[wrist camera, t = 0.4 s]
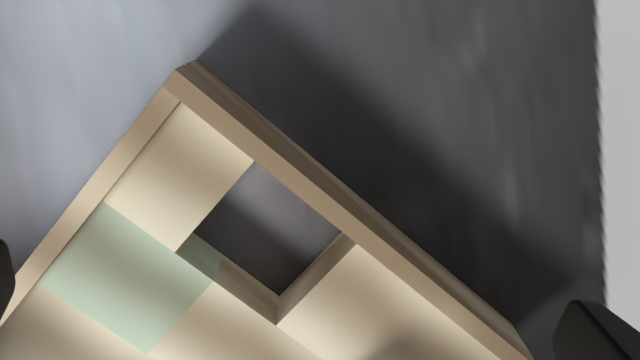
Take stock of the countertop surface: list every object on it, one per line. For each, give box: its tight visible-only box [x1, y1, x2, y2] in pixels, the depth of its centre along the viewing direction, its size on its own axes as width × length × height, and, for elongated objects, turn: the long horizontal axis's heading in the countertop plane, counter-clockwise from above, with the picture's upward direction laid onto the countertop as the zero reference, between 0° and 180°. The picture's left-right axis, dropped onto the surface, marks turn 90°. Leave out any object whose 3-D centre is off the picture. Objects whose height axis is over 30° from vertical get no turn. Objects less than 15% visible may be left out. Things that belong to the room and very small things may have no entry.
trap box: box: [0, 60, 534, 360], centre depth 24 cm, size 18×20×4 cm
